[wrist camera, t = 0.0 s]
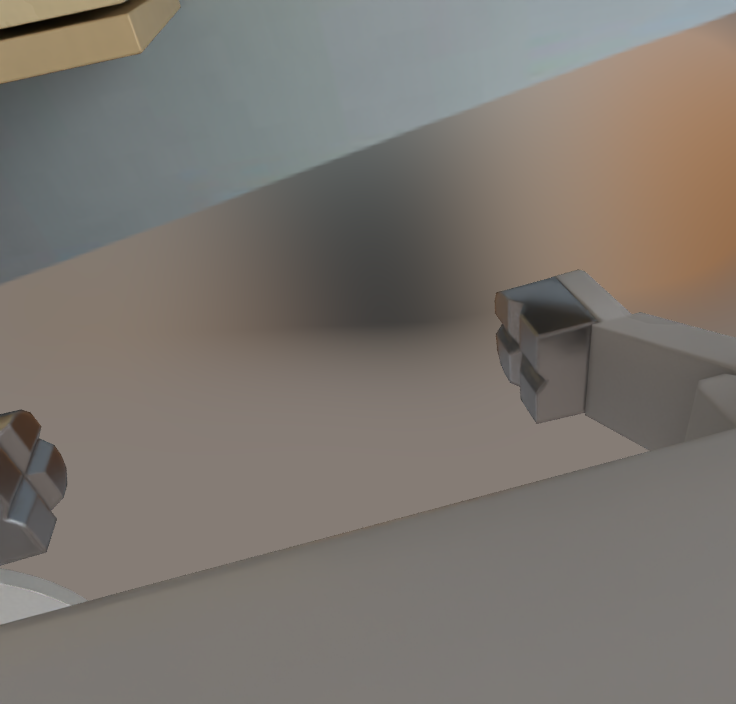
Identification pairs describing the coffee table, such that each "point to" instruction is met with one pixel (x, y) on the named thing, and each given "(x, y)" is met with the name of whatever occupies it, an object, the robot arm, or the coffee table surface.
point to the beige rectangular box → (45, 9)
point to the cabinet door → (82, 38)
